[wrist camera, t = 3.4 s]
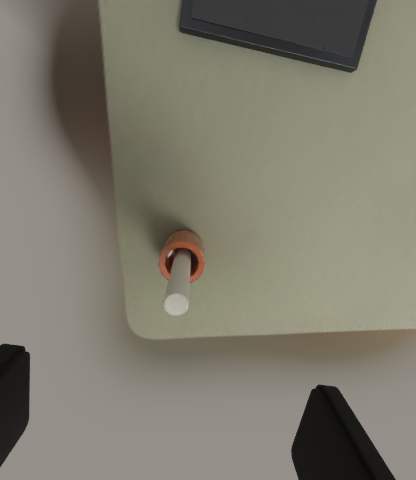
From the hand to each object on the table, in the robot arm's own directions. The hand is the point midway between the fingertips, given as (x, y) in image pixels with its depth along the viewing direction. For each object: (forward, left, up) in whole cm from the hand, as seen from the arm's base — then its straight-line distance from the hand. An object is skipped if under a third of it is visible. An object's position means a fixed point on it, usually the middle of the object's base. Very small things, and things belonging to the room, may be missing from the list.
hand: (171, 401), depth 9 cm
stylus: (0, 0, -16) cm, 16 cm away
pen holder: (0, 0, -17) cm, 17 cm away
